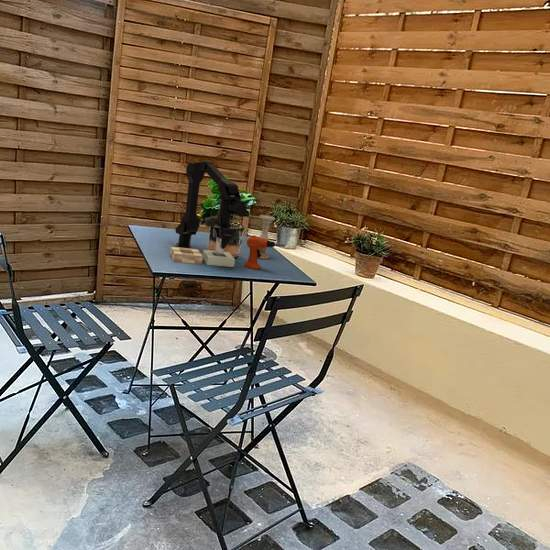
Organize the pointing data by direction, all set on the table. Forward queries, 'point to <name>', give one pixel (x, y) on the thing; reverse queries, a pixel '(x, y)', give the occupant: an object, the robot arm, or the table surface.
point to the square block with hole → (218, 259)
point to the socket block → (186, 255)
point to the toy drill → (254, 245)
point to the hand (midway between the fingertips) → (220, 246)
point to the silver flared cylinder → (218, 248)
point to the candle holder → (265, 234)
